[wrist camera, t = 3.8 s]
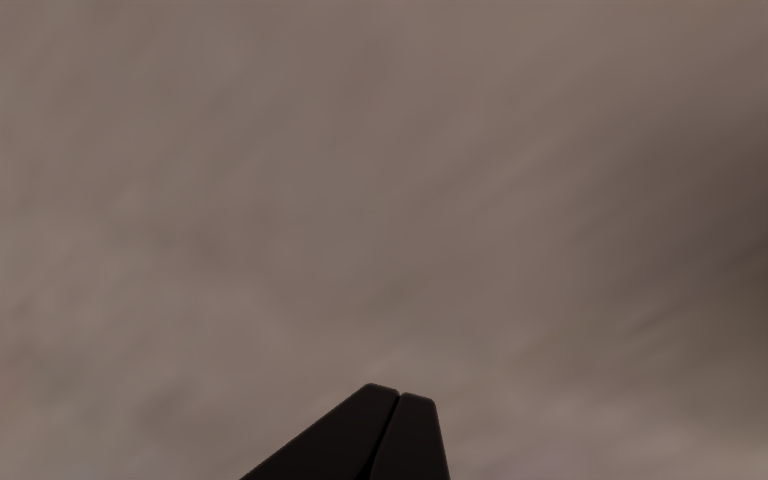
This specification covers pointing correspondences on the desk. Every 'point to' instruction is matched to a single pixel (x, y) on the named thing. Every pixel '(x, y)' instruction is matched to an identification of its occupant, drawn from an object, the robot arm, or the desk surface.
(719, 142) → the desk surface
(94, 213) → the desk surface
